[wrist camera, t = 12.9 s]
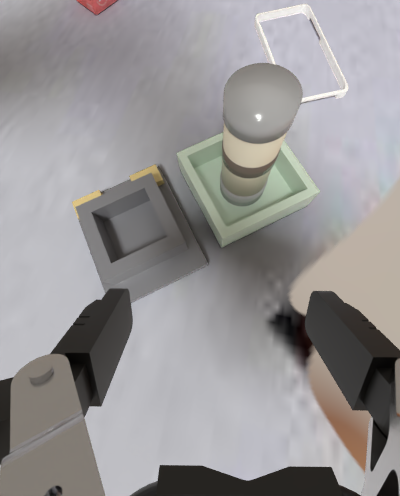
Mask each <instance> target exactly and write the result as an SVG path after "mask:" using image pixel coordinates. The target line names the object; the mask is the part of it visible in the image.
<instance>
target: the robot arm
mask: <svg viewBox="0 0 400 496" xmlns="http://www.w3.org/2000/svg"><path fill="white" fill-rule="evenodd" d="M132 322H133V318H132V309H131V301H130V293H129V290H128V289H123V288H110V289H109V290H108V291H107V293H106V294H105V295H104V297H103V298H102V300H95V301H94V302H93V303H91V304H90V305H88V306H87V307H86V308H85V309H84V310H83V312H82V313H81V314H80V315H79V318H77V319H76V321H75V322H74V323H73V325H72V326H71V327H70V329H69V330H68V331H67V332H66V334H65V335H64V336H63V338H62V339H61V340H60V342H59V343H58V344H57V346H56V347H55V348H54V349H53V351H52V352H51V353H50V354H49V355H45V356H42V357H39V358H37V359H35V360H33V361H31V362H29V363H28V364H26V365H25V366H24V367H23V368H21V369H20V370H19V371H18V373H17V374H16V375H15V376H14V377H13V378H9V379H5V380H1V381H0V465H1V467H0V496H105V493H104V489H103V486H102V482H101V478H100V475H99V471H98V467H97V464H96V460H95V456H94V452H93V449H92V445H91V441H90V438H89V434H88V430H87V427H86V423H85V419H84V417H85V415H86V413H87V411H88V408H89V406H102V403H103V401H104V398H105V396H106V393H107V391H108V388H109V386H110V383H111V381H112V378H113V376H114V373H115V370H116V368H117V365H118V363H119V360H120V358H121V355H122V353H123V350H124V348H125V345H126V343H127V340H128V338H129V335H130V333H131V329H132ZM305 328H306V332H307V334H308V336H309V338H310V340H311V341H312V343H313V345H314V346H315V348H316V350H317V351H318V353H319V355H320V356H321V358H322V360H323V361H324V363H325V364H326V366H327V368H328V370H329V371H330V373H331V375H332V376H333V378H334V380H335V381H336V383H337V385H338V386H339V388H340V389H341V391H342V393H343V395H344V396H345V398H346V400H347V401H348V403H349V405H350V406H351V408H352V410H368V411H369V413H370V414H371V416H372V417H371V419H370V422H369V430H368V444H367V458H366V471H365V480H364V486H363V490H362V493H361V495H359V494H357V493H356V492H354V491H352V490H349V489H347V488H345V487H343V486H341V485H339V484H338V482H337V479H336V477H335V475H334V472H333V470H332V468H331V467H287V468H284V469H281V470H279V471H276V472H273V473H270V474H267V475H265V476H262V477H259V478H256V479H254V480H250V481H246V480H242V479H239V478H236V477H233V476H230V475H227V474H224V473H221V472H219V471H216V470H213V469H210V468H207V467H204V466H178V465H160V468H159V475H158V481H156V482H154V483H151V484H149V485H147V486H145V487H143V488H141V489H139V490H138V491H136V492H135V493H133V494H132V495H130V496H400V350H399V349H398V348H397V347H396V346H395V345H394V344H393V343H392V342H391V341H390V340H389V339H387V338H386V337H385V336H384V335H383V334H382V333H381V332H380V331H379V330H377V329H376V327H375V326H374V325H373V324H372V323H371V322H369V321H368V319H367V318H366V317H365V316H364V315H363V314H362V313H361V312H360V311H359V310H357V309H355V308H354V307H352V306H350V305H349V304H347V303H344V302H343V301H342V300H341V299H340V298H339V297H338V296H337V295H336V294H335V293H334V292H332V291H313V292H312V294H311V296H310V301H309V306H308V310H307V314H306V319H305Z"/></svg>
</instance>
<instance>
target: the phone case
mask: <svg viewBox="0 0 400 496" xmlns="http://www.w3.org/2000/svg"><path fill="white" fill-rule="evenodd" d="M299 13H303V14H305V15H306V16H307V18H308V20H312V22H313V24H314V26H315V28H316V30H317V32H318V34H319V37H320V41H319V44H320V46H321V48H322V50H323V52H324V55H325V57H326V59H327V61H328V63H329V65H330V67H331V69H332V72H333V74H334V76H335V78H336V80H337V82H338V84H339V87H340V89H341V90H338V91H334V92H329V93H324V94H320V95H315V96H310V97H306V98H302V101H301V103H302V102H306V101H311V100H316V99H320V98H325V97H330V96H334V95H336V96H335V98H336V99H338V98H342V97H344V95H345V94H346V92H347V91H348V84H347V82H346V80H345V78H344V76H343V73H342V71H341V69H340V67H339V65H338V63H337V61H336V59H335V57H334V55H333V53H332V51H331V49H330V47H329V44H328V42H327V40H326V38H325V36H324V34H323V32H322V30H321V28H320V26H319V24H318V22H317V20H316V18H315V15H314V13H313V11H312V9H311V7H310V6H309V5H307V4H301V5H297V6H292V7H287V8H283V9H278V10H273V11H269V12H264V13H259V14H257V15H256V18H255V29H256V31H257V34H258V37H259V39H260V42H261V45H262V47H263V50H264V53H265V55H266V58H267V61H268V63H270V64H275V65H276V63H275V61H274V58H273V55H272V53H271V50H270V48H269V45H268V43H267V40H266V37H265V35H264V32H263V30H262V27H261V25H260V22H262V21H267V20H271V19H276V18H281V17H285V16H290V15H295V14H299Z"/></svg>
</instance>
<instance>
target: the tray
mask: <svg viewBox="0 0 400 496" xmlns="http://www.w3.org/2000/svg"><path fill="white" fill-rule="evenodd" d="M222 141H223V132H222V133H220V134H218V135H215V136H213V137H211V138H209V139H207V140H204V141H202V142H200V143H198V144H196V145H193V146H191V147H189V148H187V149H185V150H182V151H180V152H178V153H176V154H177V158H178V162H179V166H180V171H181V173H182V175H183V177H184V178H185V180H186V182H187V184H188V186H189V188H190V190H191V192H192V193H193V195H194V197H195V199H196V201H197V203H198V205H199V207H200V209H201V210H202V212H203V214H204V216H205V218H206V220H207V222H208V224H209V225H210V227H211V229H212V231H213V233H214V235H215V237H216V239H217V241H218V242H219V244H220V246H221V248H222V247H224V246H226V245H228V244H230V243H233V242H235V241H237V240H239V239H241V238H243V237H245V236H247V235H249V234H251V233H253V232H255V231H257V230H259V229H261V228H263V227H265V226H267V225H269V224H271V223H274V222H276V221H278V220H280V219H282V218H284V217H286V216H288V215H290V214H292V213H294V212H296V211H298V210H300V209H302V208H304V207H306V206H308V204H309V203H310V202H311V201H312V200H313V199H314V198H315V197H316V196H317V195H318V194H319V193H320V191H319V189H318V188H317V186H316V185H315V184H314V182H313V181H312V179H311V178H310V177H309V175H308V174H307V172H306V171H305V169H304V168H303V167H302V165H301V164H300V162H299V161H298V159H297V158H296V157H295V155H294V154H293V152H292V151H291V150H290V148H289V147H288V145H287V144H286V142H285V141H284V140H283V143H282V145H281V149H280V152H279V154H278V157H277V159H276V161H275V164H274V166H273V167H272V169H271V172H270V174H269V177H268V181H267V184H266V187H265V189H264V191H263V194H262V196H261V197H260V199H259V200H258V201H257V202H255V203H253V204H251V205H249V206H235V205H233V204H231V203H229V202H227V201H226V200H225V199H224V197H223V196H222V194H221V191H220V174H221V170H222Z"/></svg>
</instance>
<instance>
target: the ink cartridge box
mask: <svg viewBox="0 0 400 496" xmlns="http://www.w3.org/2000/svg"><path fill="white" fill-rule="evenodd" d="M77 1H78V2H79V3H80V4H82V5H83V6H85V7H86V8H87V9H89V10H90V11H92V12H93V13H94V14H96V15H98V14H99V13H100V12H102V11H103V10H105V9H106V8H107V7H109V6H110V5H112V4H113V3H114V2H116V1H117V0H77Z"/></svg>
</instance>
